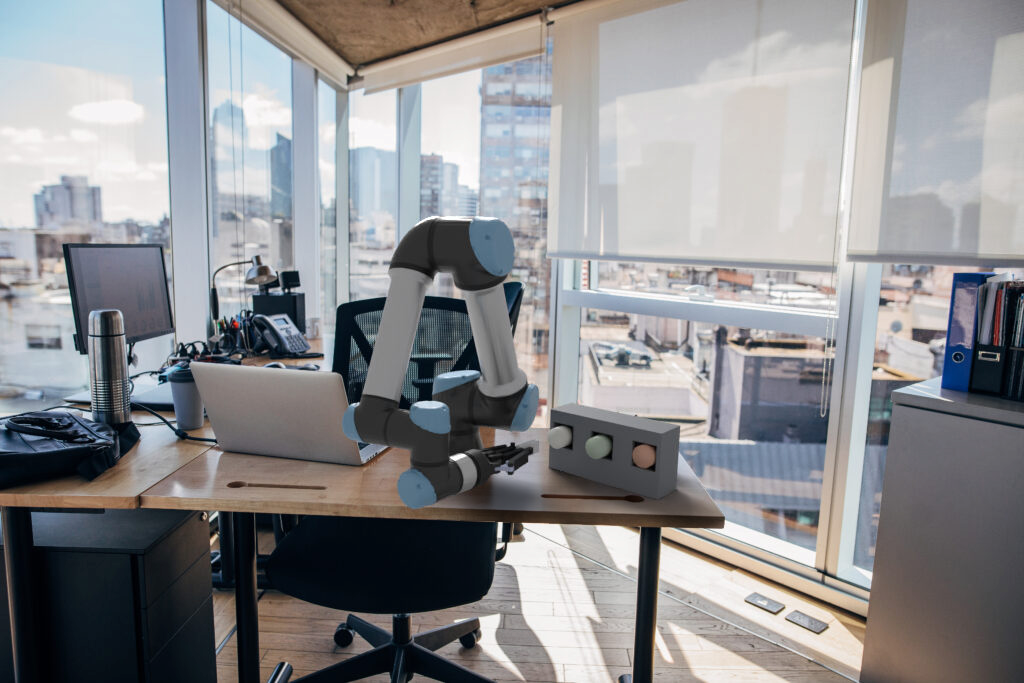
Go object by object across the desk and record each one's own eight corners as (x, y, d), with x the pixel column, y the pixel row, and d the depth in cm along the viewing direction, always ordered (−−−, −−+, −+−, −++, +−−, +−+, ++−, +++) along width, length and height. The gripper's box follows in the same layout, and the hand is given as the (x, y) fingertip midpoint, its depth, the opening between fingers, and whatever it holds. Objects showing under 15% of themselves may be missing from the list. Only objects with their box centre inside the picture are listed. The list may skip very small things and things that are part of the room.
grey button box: (657, 499, 143) (661, 433, 141) (548, 467, 162) (550, 409, 160) (676, 488, 150) (680, 425, 148) (569, 459, 169) (571, 402, 167)
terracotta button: (651, 470, 143) (653, 448, 142) (631, 465, 146) (632, 443, 145) (660, 466, 146) (661, 444, 145) (640, 460, 149) (641, 439, 148)
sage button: (603, 461, 148) (604, 440, 147) (584, 456, 151) (585, 435, 150) (612, 457, 151) (613, 436, 150) (594, 452, 154) (595, 432, 154)
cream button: (563, 450, 155) (564, 430, 154) (547, 446, 158) (547, 426, 157) (573, 447, 158) (574, 427, 157) (556, 442, 161) (557, 423, 160)
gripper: (442, 480, 137) (514, 455, 155) (488, 497, 129) (558, 467, 147) (443, 446, 136) (515, 424, 154) (489, 460, 128) (560, 435, 146)
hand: (536, 445), depth 150 cm, fingers closed
